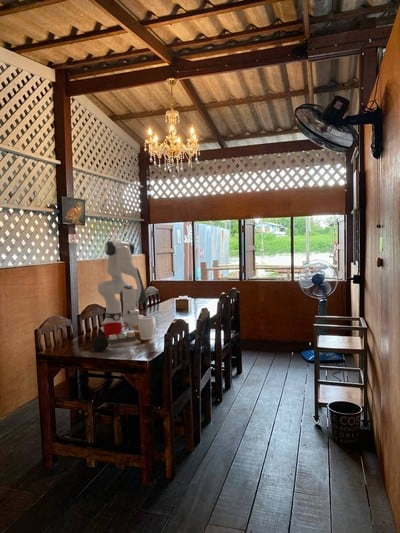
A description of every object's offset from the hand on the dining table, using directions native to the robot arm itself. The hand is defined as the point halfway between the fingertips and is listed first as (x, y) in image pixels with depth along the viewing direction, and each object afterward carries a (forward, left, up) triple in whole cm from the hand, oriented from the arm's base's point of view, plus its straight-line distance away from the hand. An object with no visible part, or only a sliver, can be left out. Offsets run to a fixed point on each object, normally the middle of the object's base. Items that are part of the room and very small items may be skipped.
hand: (130, 330), depth 263 cm
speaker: (+9, -24, -9) cm, 27 cm away
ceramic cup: (-18, -4, -9) cm, 21 cm away
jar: (-3, +13, -9) cm, 16 cm away
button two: (0, -6, -5) cm, 8 cm away
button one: (0, -12, -5) cm, 13 cm away
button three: (0, 0, -5) cm, 5 cm away
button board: (0, -6, -8) cm, 10 cm away
